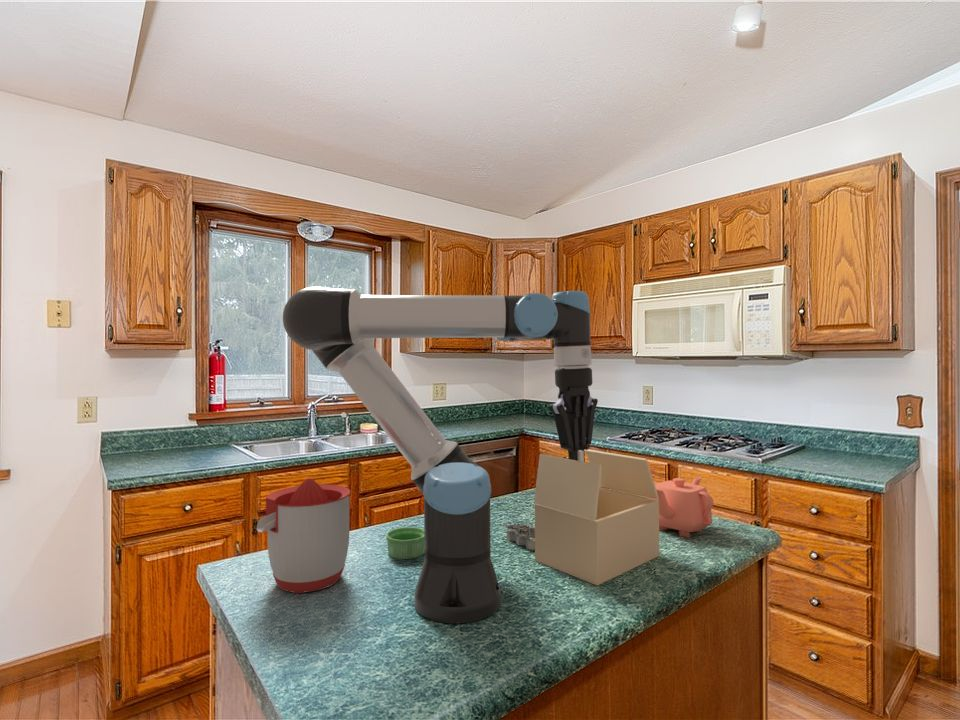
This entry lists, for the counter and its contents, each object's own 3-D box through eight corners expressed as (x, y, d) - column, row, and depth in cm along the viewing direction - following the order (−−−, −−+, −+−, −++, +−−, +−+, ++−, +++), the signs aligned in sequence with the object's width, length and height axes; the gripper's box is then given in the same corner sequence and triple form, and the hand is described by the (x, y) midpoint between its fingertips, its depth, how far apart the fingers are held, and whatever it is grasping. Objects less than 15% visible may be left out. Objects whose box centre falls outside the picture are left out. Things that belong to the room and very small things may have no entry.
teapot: (654, 539, 122) (654, 485, 122) (642, 517, 138) (642, 470, 138) (721, 542, 120) (721, 487, 120) (700, 520, 136) (700, 472, 136)
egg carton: (555, 546, 118) (555, 528, 118) (530, 553, 114) (530, 535, 114) (526, 533, 127) (526, 516, 127) (501, 539, 123) (501, 522, 123)
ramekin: (424, 560, 110) (424, 540, 110) (382, 561, 109) (382, 540, 109) (428, 545, 118) (428, 526, 119) (389, 545, 118) (389, 526, 118)
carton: (597, 585, 97) (596, 521, 97) (535, 560, 109) (534, 504, 109) (659, 556, 111) (658, 500, 111) (598, 536, 123) (597, 486, 123)
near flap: (596, 520, 97) (594, 520, 97) (535, 503, 109) (533, 503, 108) (602, 465, 98) (600, 465, 98) (541, 454, 110) (539, 453, 110)
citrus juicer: (245, 581, 99) (245, 478, 99) (331, 558, 111) (330, 466, 111) (272, 611, 87) (271, 494, 87) (365, 582, 99) (364, 478, 99)
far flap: (645, 460, 108) (646, 458, 108) (585, 450, 120) (586, 449, 120) (657, 499, 111) (659, 497, 112) (598, 486, 123) (599, 484, 123)
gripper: (567, 369, 98) (572, 491, 99) (606, 365, 107) (611, 478, 107) (538, 369, 104) (543, 484, 104) (577, 365, 112) (582, 472, 113)
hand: (577, 481), depth 106 cm, fingers closed
